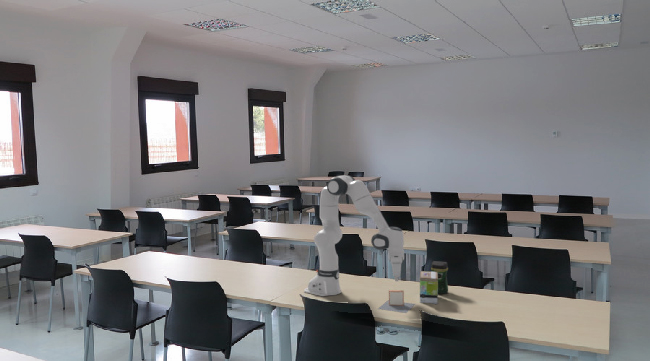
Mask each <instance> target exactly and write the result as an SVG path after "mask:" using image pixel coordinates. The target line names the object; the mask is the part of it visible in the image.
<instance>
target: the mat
mask: <svg viewBox="0 0 650 361" xmlns="http://www.w3.org/2000/svg"><path fill="white" fill-rule="evenodd" d="M415 305H416V303H412V302H411V303H410V302H405V301H404V306H396V305H389V299H388V300H387V301H385V302H384V303H383V304H381V305H380V306H379V307H377V310H382V311H383V310H385V311H390V312H397V313H404V314H407V313H408V312H409V311H410V310H412V308H414V306H415Z"/></svg>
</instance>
